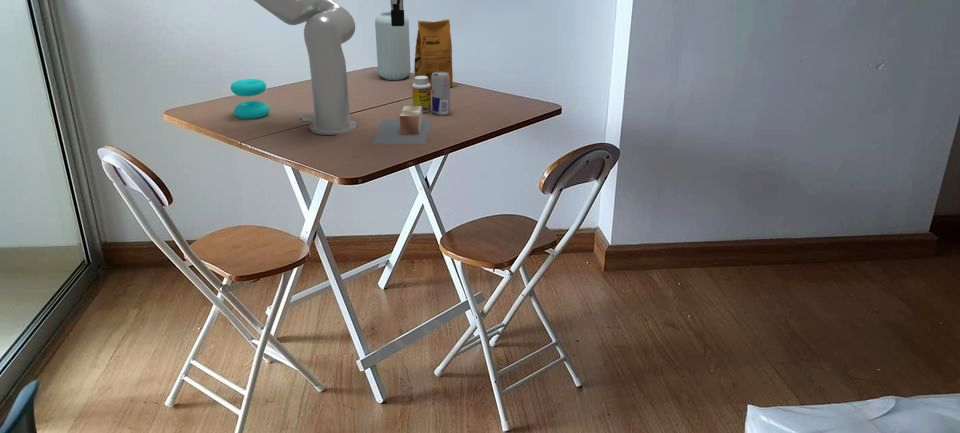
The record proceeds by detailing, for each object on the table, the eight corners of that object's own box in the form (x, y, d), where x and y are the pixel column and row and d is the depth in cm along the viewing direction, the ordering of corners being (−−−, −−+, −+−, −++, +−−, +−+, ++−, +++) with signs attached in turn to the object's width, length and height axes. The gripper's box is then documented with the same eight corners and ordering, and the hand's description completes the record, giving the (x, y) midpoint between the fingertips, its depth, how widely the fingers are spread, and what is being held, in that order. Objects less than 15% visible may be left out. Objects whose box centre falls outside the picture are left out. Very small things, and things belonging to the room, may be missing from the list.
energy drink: (433, 110, 222) (432, 71, 217) (450, 111, 222) (450, 71, 217) (431, 116, 217) (430, 75, 212) (449, 116, 217) (448, 75, 212)
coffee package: (413, 83, 253) (410, 18, 244) (448, 81, 256) (447, 16, 247) (418, 90, 244) (415, 23, 235) (454, 88, 247) (453, 21, 238)
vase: (397, 83, 254) (393, 17, 245) (371, 78, 260) (367, 14, 251) (417, 76, 263) (415, 12, 254) (392, 72, 269) (389, 9, 259)
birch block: (399, 116, 198) (404, 106, 207) (400, 133, 200) (404, 123, 209) (418, 116, 198) (421, 106, 207) (418, 134, 200) (422, 123, 209)
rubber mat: (371, 145, 193) (371, 143, 193) (384, 120, 213) (383, 119, 213) (425, 145, 192) (424, 144, 192) (432, 121, 212) (432, 119, 212)
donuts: (267, 77, 220) (263, 85, 211) (271, 109, 224) (267, 119, 215) (232, 78, 218) (227, 86, 209) (237, 111, 222) (232, 120, 213)
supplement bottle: (418, 114, 219) (417, 80, 215) (409, 109, 223) (408, 76, 219) (434, 111, 222) (434, 77, 218) (425, 107, 226) (424, 74, 222)
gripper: (406, -48, 175) (409, 30, 183) (413, -52, 189) (415, 21, 197) (374, -48, 176) (379, 30, 183) (383, -52, 189) (387, 20, 197)
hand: (398, 25), depth 190 cm, fingers closed
